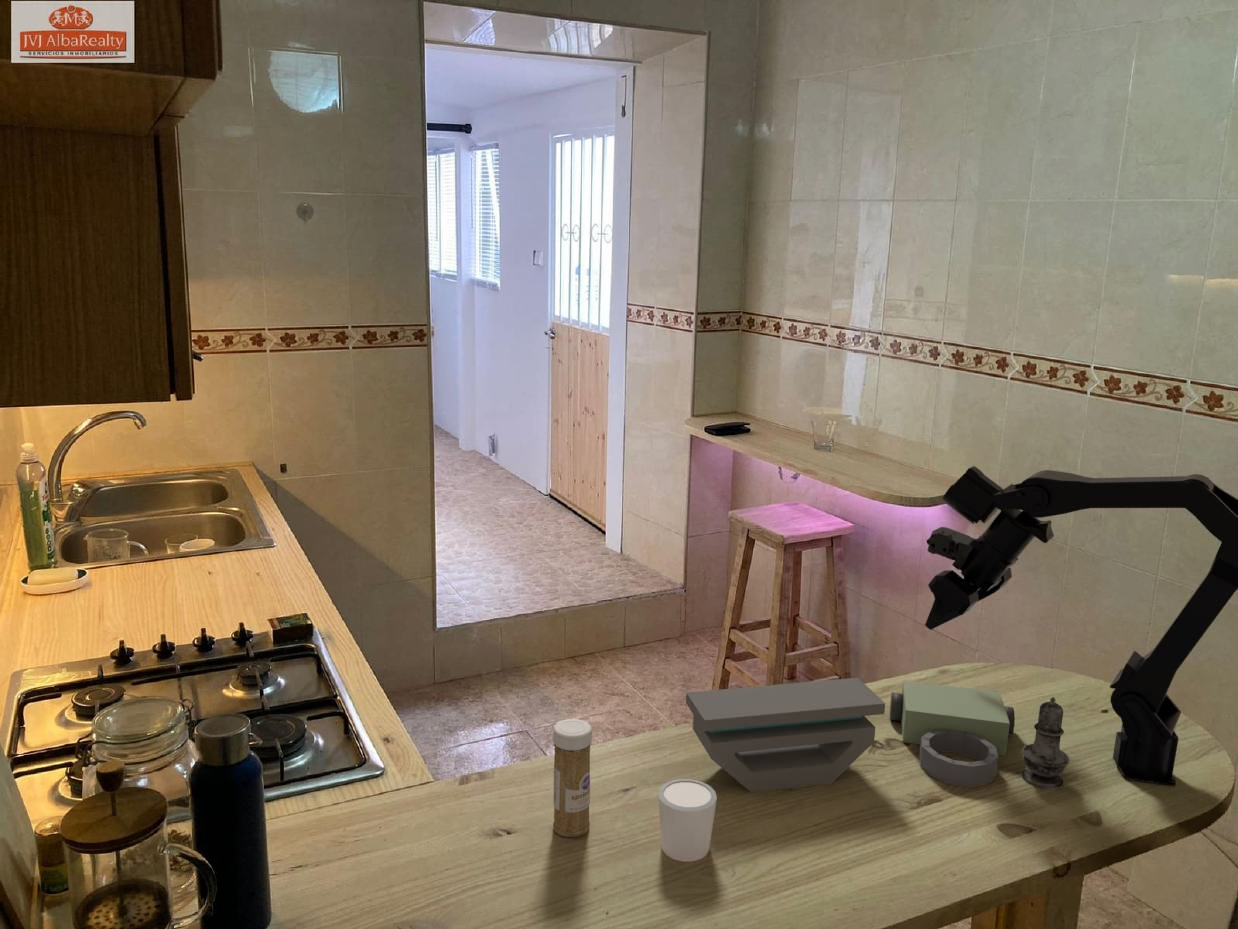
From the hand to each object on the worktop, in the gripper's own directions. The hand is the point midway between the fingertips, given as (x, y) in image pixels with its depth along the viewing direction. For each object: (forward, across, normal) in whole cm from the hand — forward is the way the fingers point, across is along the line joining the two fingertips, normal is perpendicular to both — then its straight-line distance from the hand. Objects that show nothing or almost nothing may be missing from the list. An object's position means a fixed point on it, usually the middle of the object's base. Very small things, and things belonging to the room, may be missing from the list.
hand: (939, 619), depth 147 cm
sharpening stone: (+17, +32, +1) cm, 37 cm away
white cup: (+17, +54, +1) cm, 57 cm away
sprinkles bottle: (+24, +61, -10) cm, 66 cm away
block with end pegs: (+9, +10, +14) cm, 19 cm away
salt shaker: (+3, +10, +24) cm, 27 cm away
